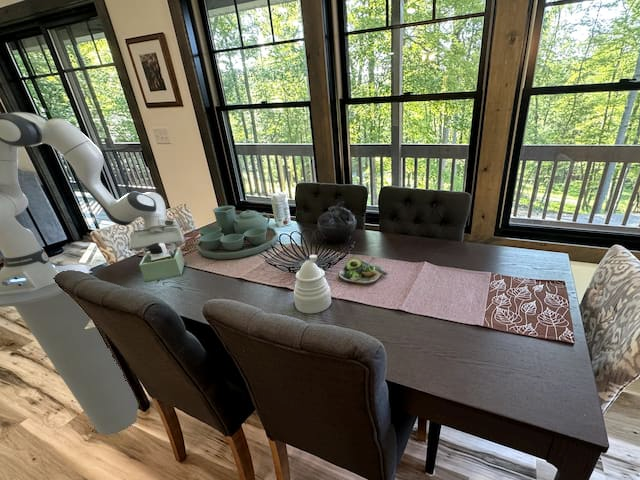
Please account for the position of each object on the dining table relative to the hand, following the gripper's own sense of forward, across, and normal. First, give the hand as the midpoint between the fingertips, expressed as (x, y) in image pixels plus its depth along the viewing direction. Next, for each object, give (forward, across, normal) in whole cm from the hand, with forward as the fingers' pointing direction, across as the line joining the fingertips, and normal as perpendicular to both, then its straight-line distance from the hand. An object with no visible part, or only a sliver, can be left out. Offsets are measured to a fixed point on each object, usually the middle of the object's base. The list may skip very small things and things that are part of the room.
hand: (160, 255), depth 135 cm
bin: (+5, 0, +6) cm, 8 cm away
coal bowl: (+4, +81, +8) cm, 81 cm away
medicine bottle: (+5, 0, +5) cm, 7 cm away
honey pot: (+42, +55, -30) cm, 76 cm away
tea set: (-8, +32, +20) cm, 38 cm away
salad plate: (+33, +78, -21) cm, 87 cm away
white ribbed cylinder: (-23, +58, +35) cm, 71 cm away
